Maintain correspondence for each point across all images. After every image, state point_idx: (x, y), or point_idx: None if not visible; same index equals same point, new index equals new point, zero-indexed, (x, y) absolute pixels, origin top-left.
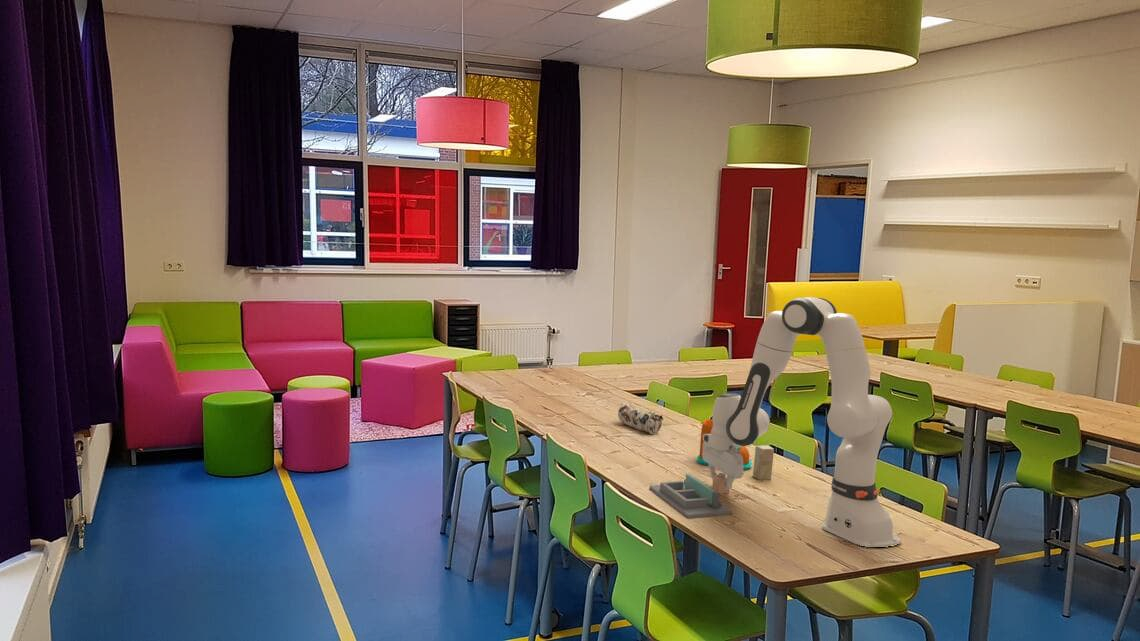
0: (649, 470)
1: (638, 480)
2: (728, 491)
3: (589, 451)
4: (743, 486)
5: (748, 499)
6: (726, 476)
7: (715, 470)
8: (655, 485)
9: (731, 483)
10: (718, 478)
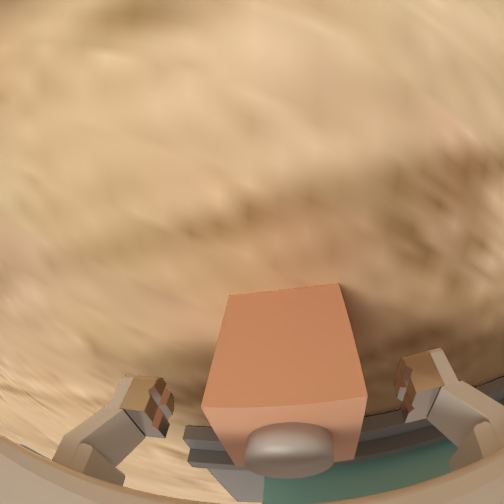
0: (59, 432)
1: (163, 484)
2: (341, 296)
3: (13, 438)
4: (165, 67)
5: (500, 192)
6: (300, 414)
7: (108, 421)
8: (235, 496)
9: (453, 381)
10: (334, 459)
